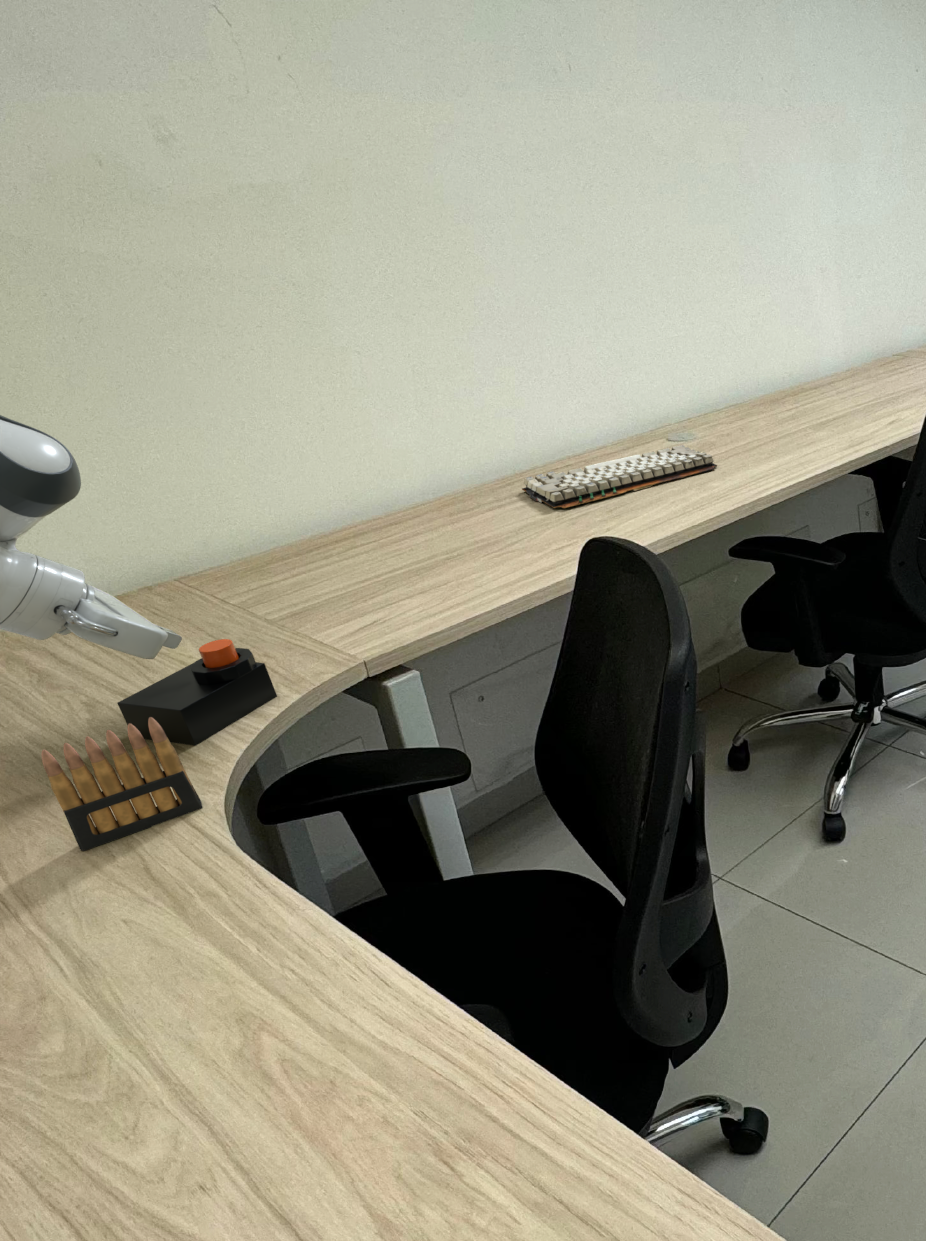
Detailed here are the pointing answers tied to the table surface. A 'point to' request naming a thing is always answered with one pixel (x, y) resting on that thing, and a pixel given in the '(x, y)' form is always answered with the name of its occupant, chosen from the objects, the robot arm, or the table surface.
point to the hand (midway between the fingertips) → (175, 640)
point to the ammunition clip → (121, 787)
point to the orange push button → (218, 653)
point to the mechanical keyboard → (616, 476)
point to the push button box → (200, 699)
